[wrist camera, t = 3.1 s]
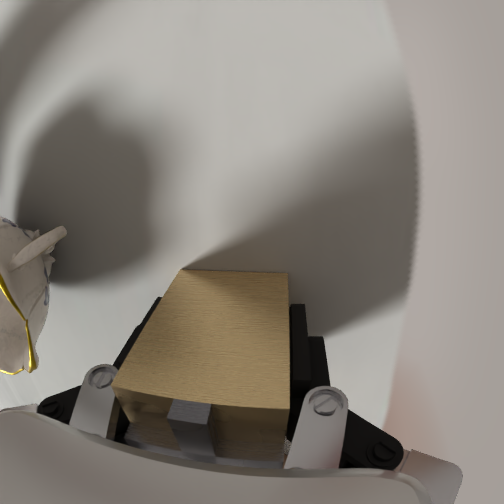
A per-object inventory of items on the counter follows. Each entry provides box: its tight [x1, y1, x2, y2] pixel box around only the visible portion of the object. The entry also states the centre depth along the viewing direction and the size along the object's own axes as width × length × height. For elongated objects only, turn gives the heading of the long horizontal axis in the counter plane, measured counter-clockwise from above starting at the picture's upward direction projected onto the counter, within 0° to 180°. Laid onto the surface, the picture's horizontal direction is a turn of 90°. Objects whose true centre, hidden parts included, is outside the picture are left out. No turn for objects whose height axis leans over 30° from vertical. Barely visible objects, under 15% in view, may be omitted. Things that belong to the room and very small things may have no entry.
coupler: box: [111, 269, 290, 469], centre depth 9 cm, size 4×4×7 cm
